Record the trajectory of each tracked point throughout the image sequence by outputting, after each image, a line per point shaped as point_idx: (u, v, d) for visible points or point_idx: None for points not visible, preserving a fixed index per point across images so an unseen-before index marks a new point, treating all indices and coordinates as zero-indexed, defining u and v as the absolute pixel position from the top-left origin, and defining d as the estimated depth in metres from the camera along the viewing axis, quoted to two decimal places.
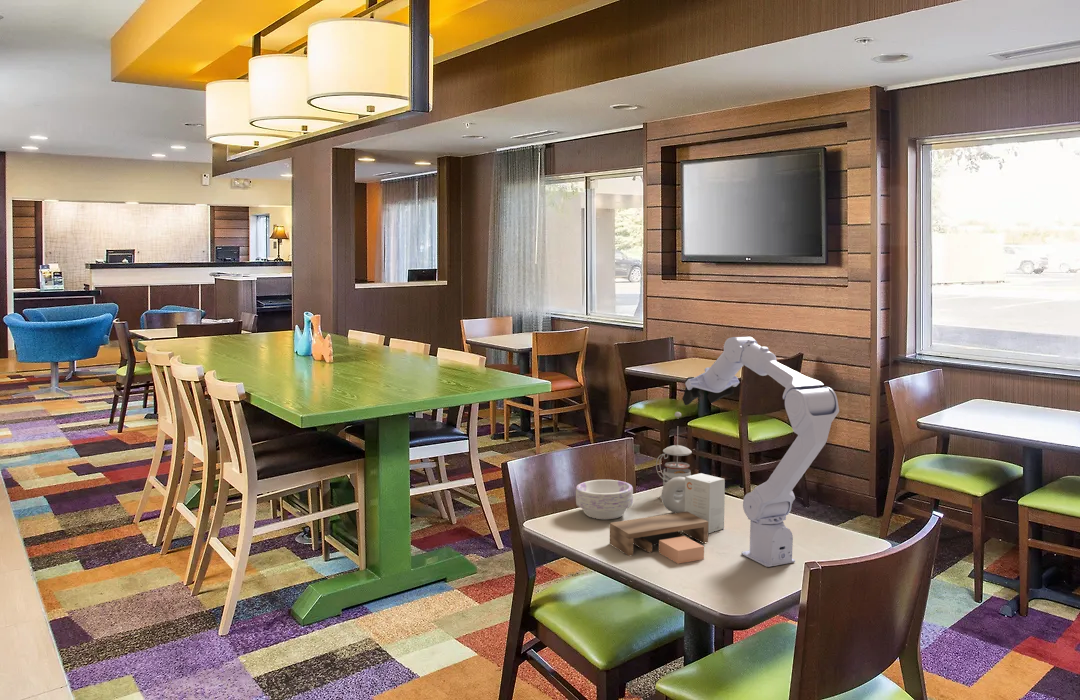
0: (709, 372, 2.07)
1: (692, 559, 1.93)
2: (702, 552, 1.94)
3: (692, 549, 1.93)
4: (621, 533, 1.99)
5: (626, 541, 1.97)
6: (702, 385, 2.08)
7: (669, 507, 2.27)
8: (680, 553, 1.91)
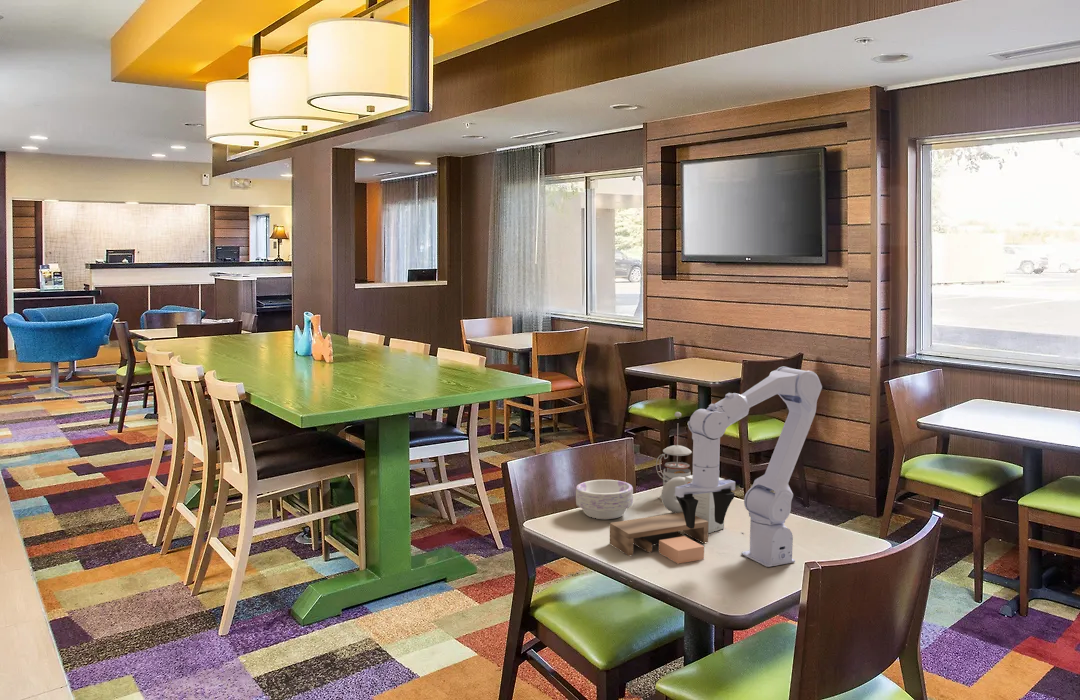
0: (693, 471, 1.85)
1: (692, 559, 1.93)
2: (702, 552, 1.94)
3: (692, 549, 1.93)
4: (621, 533, 1.99)
5: (626, 541, 1.97)
6: None
7: (669, 507, 2.27)
8: (680, 553, 1.91)
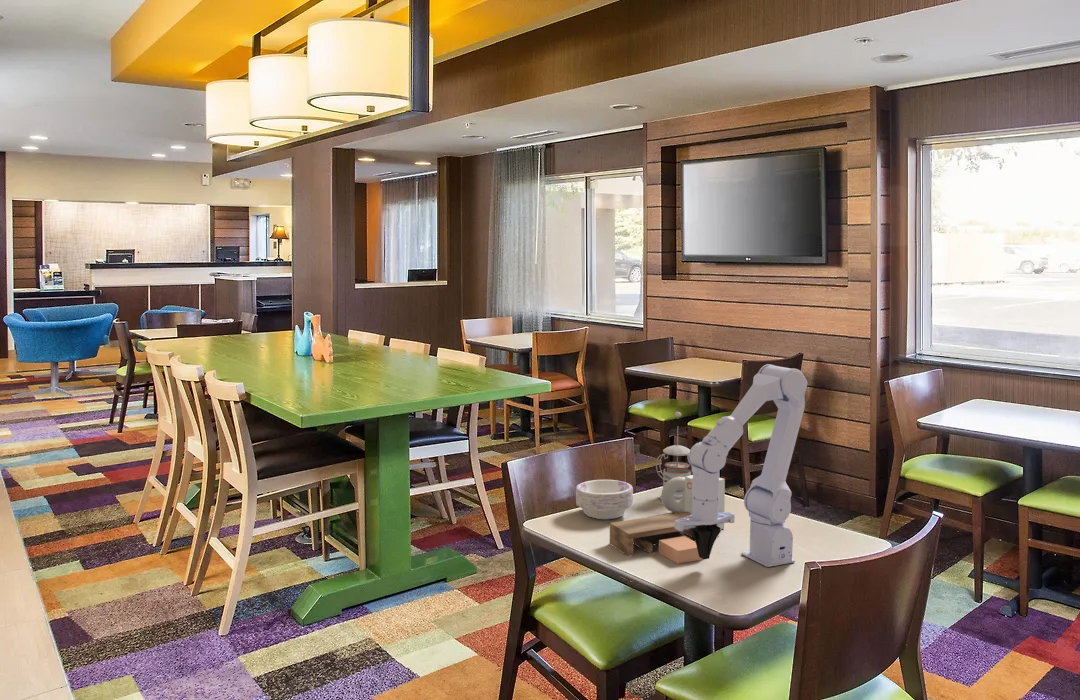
0: (692, 504, 1.86)
1: (692, 559, 1.93)
2: None
3: (692, 549, 1.93)
4: (621, 533, 1.99)
5: (626, 541, 1.97)
6: None
7: (669, 507, 2.27)
8: (680, 553, 1.91)
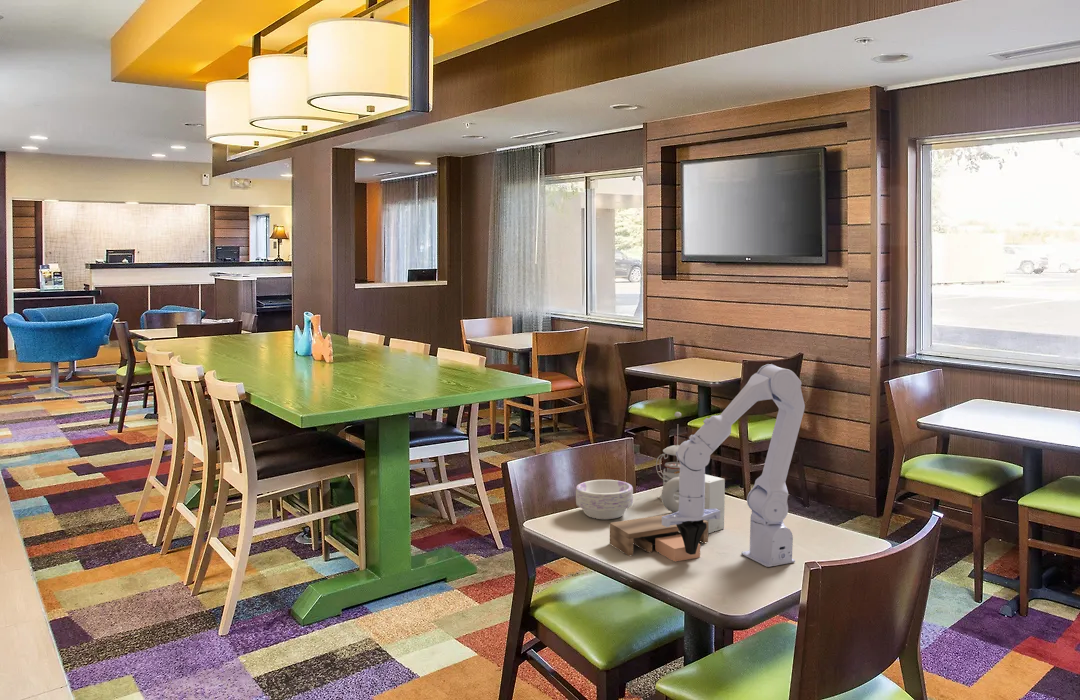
0: (679, 501, 1.91)
1: (688, 557, 1.94)
2: (698, 550, 1.95)
3: None
4: (621, 533, 1.99)
5: (626, 541, 1.97)
6: None
7: (669, 507, 2.27)
8: (676, 551, 1.93)
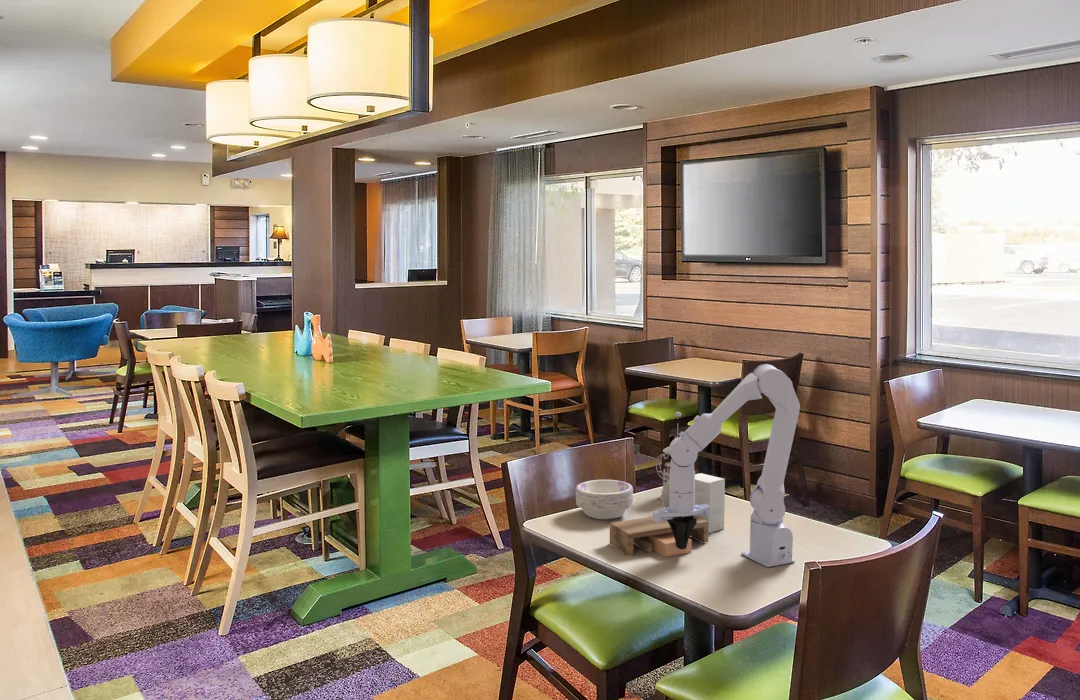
0: (670, 497, 1.94)
1: (680, 552, 1.97)
2: (689, 545, 1.98)
3: None
4: (621, 533, 1.99)
5: (626, 541, 1.97)
6: None
7: None
8: (668, 546, 1.96)
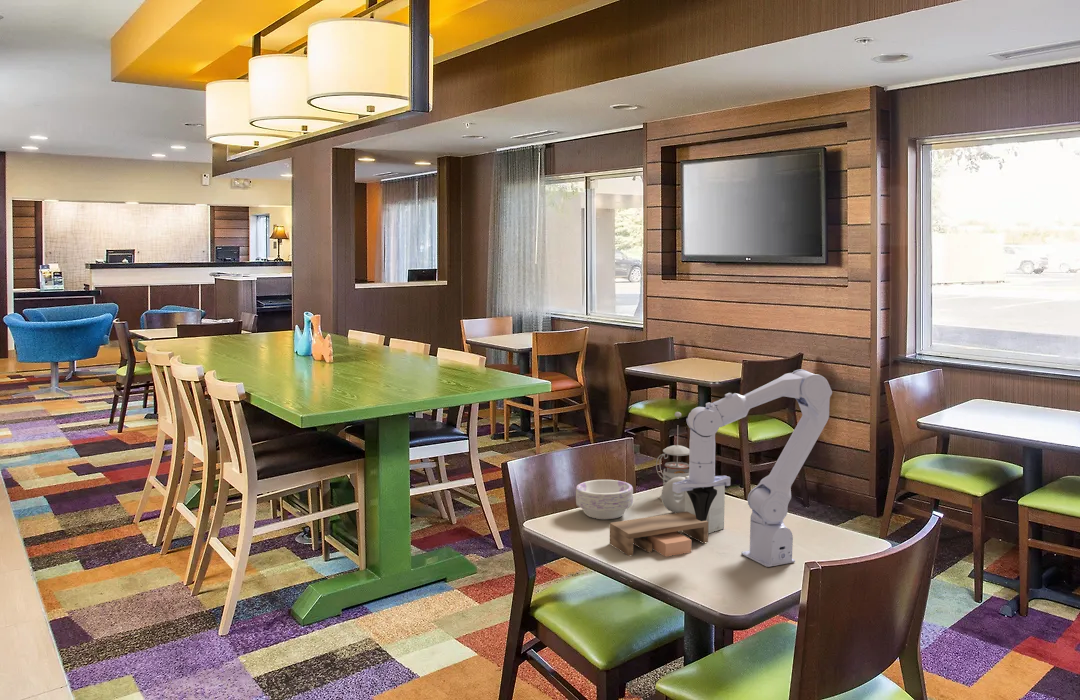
0: (689, 467, 1.91)
1: (680, 552, 1.97)
2: (689, 545, 1.98)
3: (680, 542, 1.97)
4: (621, 533, 1.99)
5: (626, 541, 1.97)
6: None
7: (669, 507, 2.27)
8: (668, 546, 1.96)
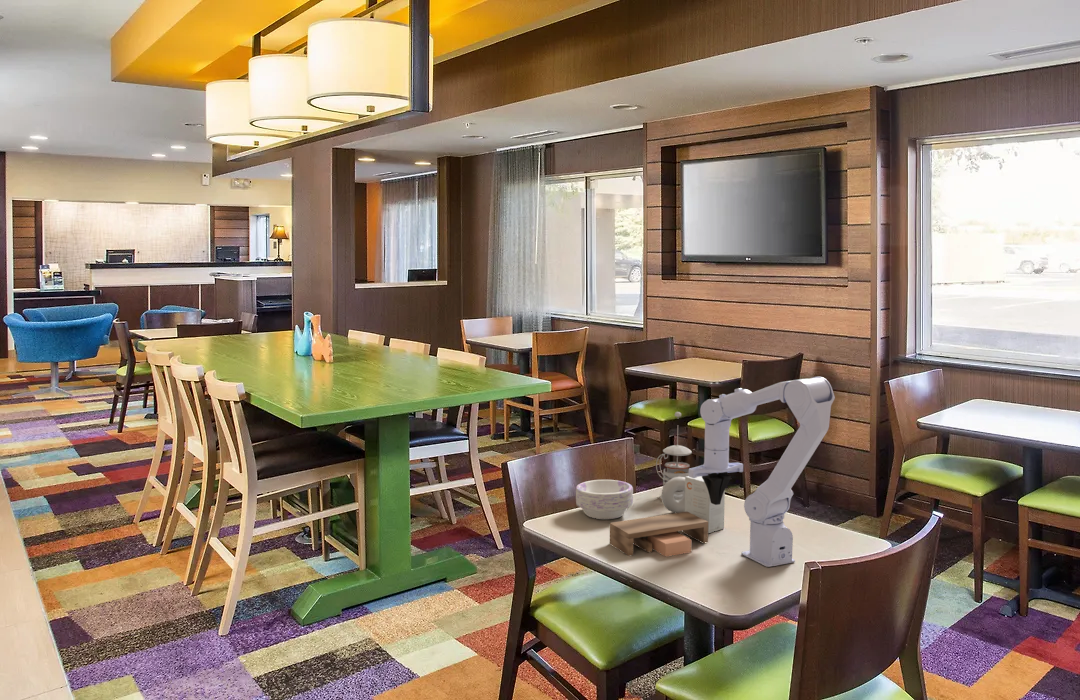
0: (705, 454, 2.03)
1: (680, 552, 1.97)
2: (689, 545, 1.98)
3: (680, 542, 1.97)
4: (621, 533, 1.99)
5: (626, 541, 1.97)
6: None
7: (669, 507, 2.27)
8: (668, 546, 1.96)
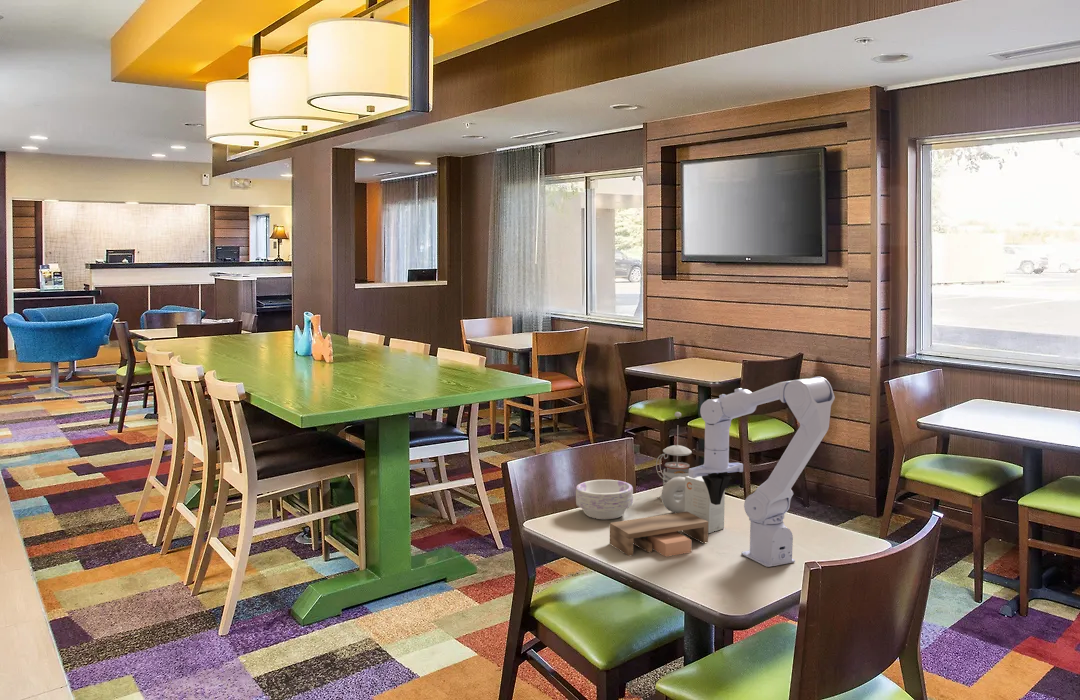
0: (705, 454, 2.03)
1: (680, 552, 1.97)
2: (689, 545, 1.98)
3: (680, 542, 1.97)
4: (621, 533, 1.99)
5: (626, 541, 1.97)
6: None
7: (669, 507, 2.27)
8: (668, 546, 1.96)
